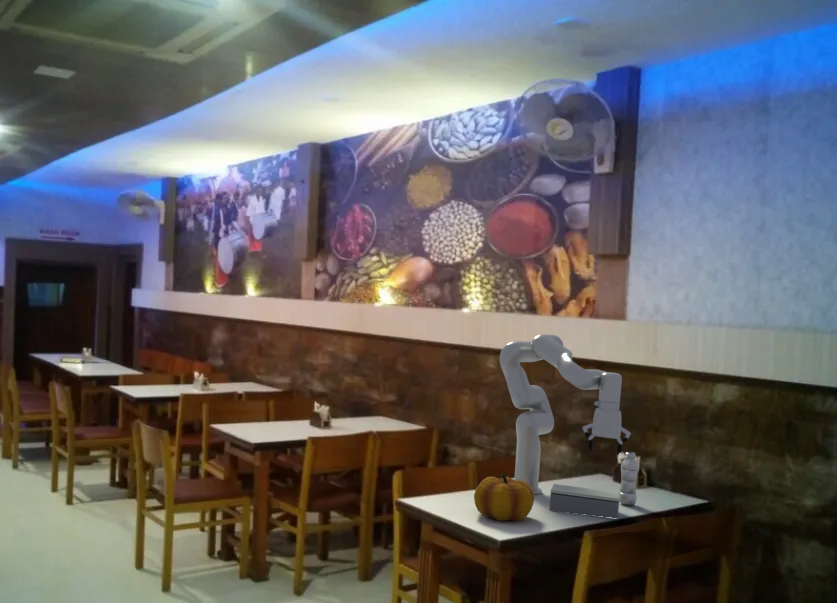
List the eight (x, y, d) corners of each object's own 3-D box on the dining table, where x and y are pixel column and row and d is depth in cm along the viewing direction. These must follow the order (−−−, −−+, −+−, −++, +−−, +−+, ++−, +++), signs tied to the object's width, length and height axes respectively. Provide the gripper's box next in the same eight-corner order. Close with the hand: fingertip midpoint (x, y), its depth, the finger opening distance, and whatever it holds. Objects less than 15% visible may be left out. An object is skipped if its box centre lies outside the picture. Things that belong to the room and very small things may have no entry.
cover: (550, 492, 281) (550, 489, 281) (553, 486, 292) (554, 483, 292) (618, 501, 274) (619, 498, 274) (619, 495, 286) (619, 492, 286)
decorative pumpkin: (511, 529, 252) (514, 483, 252) (459, 513, 267) (462, 470, 267) (546, 520, 267) (549, 476, 267) (495, 505, 282) (498, 464, 282)
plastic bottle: (636, 508, 294) (640, 455, 294) (618, 505, 295) (622, 453, 295) (635, 504, 300) (639, 452, 300) (617, 501, 301) (621, 450, 301)
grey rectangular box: (549, 510, 281) (550, 493, 281) (552, 502, 292) (553, 486, 292) (617, 519, 274) (618, 502, 274) (618, 511, 286) (619, 495, 286)
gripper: (583, 404, 284) (579, 450, 284) (632, 410, 279) (628, 457, 279) (585, 402, 291) (581, 447, 291) (633, 408, 286) (629, 454, 286)
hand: (604, 452), depth 285 cm, fingers open, 9 cm apart
